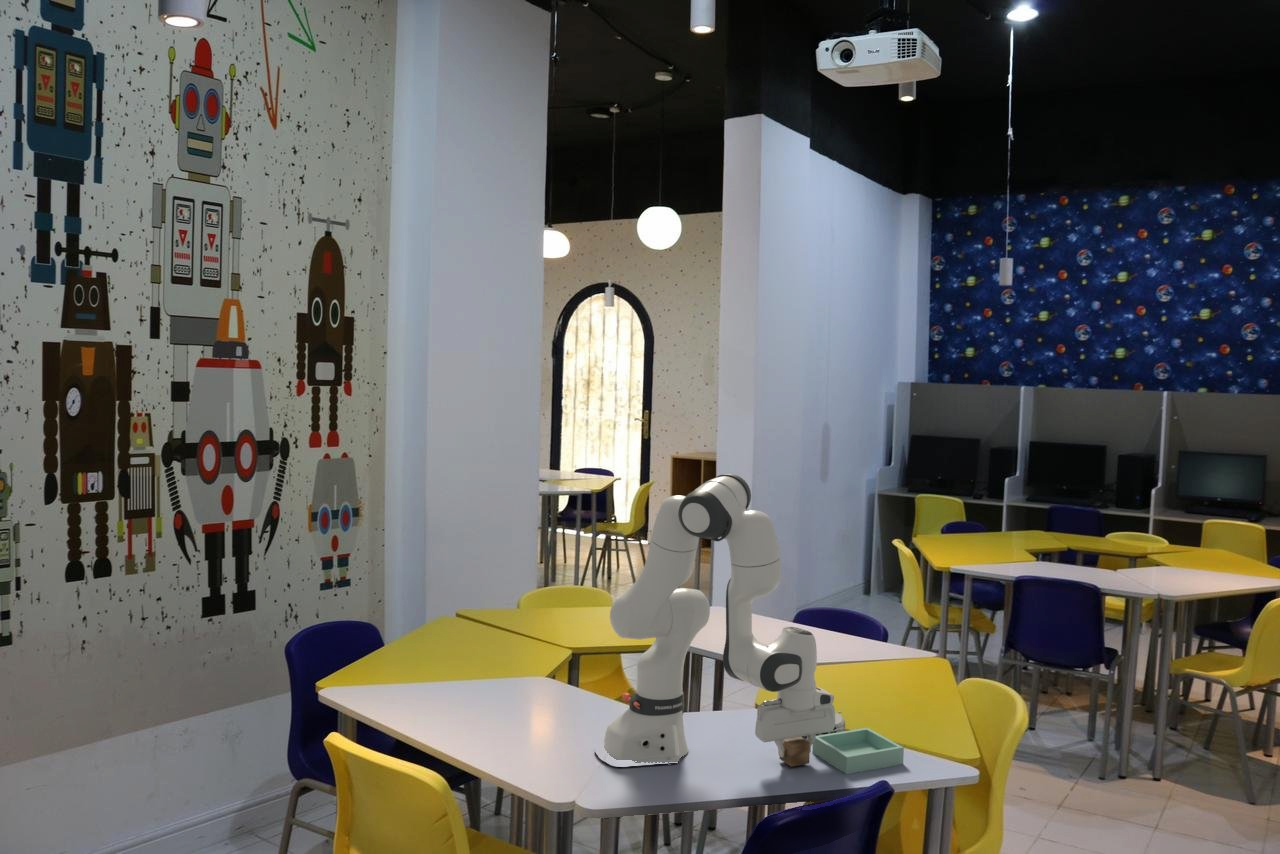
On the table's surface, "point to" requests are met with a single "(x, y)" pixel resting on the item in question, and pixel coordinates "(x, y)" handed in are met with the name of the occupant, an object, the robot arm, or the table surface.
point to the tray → (858, 750)
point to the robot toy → (837, 724)
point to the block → (796, 751)
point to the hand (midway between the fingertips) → (794, 754)
